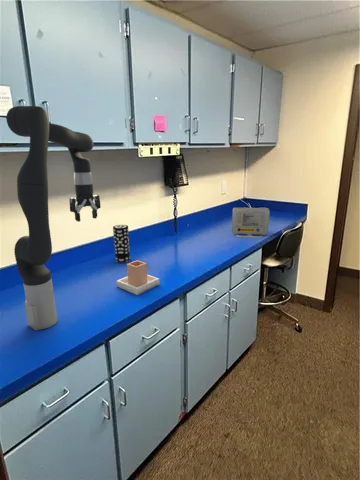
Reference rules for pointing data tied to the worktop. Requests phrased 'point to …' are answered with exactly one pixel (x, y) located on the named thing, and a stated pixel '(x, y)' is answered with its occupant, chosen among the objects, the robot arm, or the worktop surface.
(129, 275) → the cup
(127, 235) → the white-spotted black cylinder
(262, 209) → the network device
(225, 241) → the worktop surface
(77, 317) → the worktop surface
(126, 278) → the tray
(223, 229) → the worktop surface
